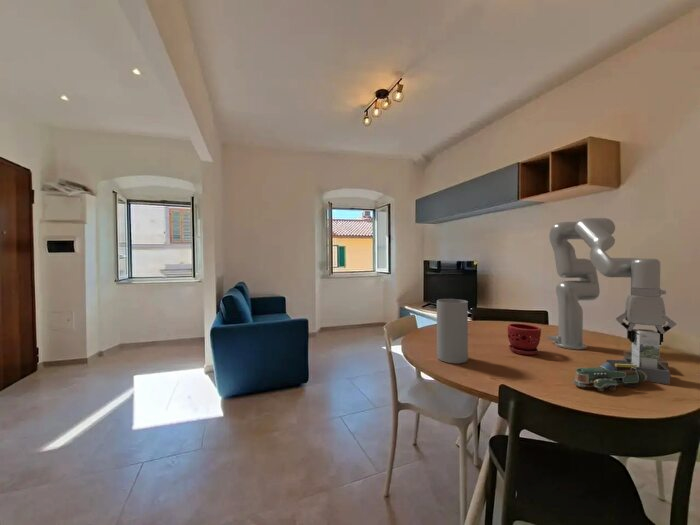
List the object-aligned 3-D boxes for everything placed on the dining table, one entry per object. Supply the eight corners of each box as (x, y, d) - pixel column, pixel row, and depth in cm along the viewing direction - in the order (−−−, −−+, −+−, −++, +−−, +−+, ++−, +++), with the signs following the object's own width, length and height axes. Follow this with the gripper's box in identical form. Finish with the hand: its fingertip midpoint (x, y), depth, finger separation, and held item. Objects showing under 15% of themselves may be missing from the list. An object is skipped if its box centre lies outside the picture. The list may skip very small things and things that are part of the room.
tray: (629, 378, 107) (629, 366, 107) (622, 369, 116) (622, 357, 116) (669, 384, 102) (670, 371, 102) (659, 374, 111) (659, 362, 110)
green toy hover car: (564, 382, 105) (564, 358, 105) (631, 379, 107) (632, 356, 107) (587, 394, 96) (588, 368, 96) (661, 391, 97) (661, 365, 97)
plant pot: (535, 358, 129) (535, 330, 128) (502, 351, 139) (502, 325, 138) (544, 352, 137) (544, 326, 137) (514, 346, 147) (514, 321, 147)
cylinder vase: (431, 359, 129) (431, 301, 128) (444, 352, 138) (444, 298, 138) (460, 366, 120) (460, 304, 120) (472, 358, 130) (472, 300, 129)
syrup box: (649, 368, 111) (649, 328, 110) (660, 374, 105) (660, 332, 105) (630, 366, 113) (630, 327, 112) (639, 372, 107) (639, 331, 107)
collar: (630, 368, 117) (630, 358, 117) (623, 360, 125) (623, 350, 125) (668, 373, 111) (668, 362, 111) (658, 364, 120) (658, 354, 120)
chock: (616, 381, 105) (616, 364, 105) (606, 376, 110) (606, 359, 110) (636, 382, 104) (636, 365, 104) (625, 377, 109) (625, 360, 109)
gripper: (675, 293, 107) (674, 343, 107) (611, 290, 116) (611, 337, 116) (684, 295, 101) (683, 349, 101) (615, 292, 110) (615, 341, 110)
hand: (644, 342), depth 109 cm, fingers closed on syrup box, 6 cm apart
